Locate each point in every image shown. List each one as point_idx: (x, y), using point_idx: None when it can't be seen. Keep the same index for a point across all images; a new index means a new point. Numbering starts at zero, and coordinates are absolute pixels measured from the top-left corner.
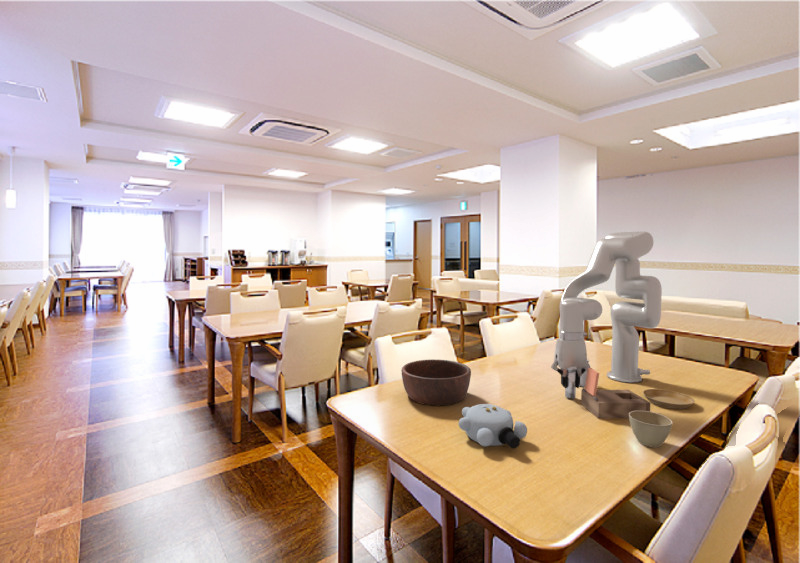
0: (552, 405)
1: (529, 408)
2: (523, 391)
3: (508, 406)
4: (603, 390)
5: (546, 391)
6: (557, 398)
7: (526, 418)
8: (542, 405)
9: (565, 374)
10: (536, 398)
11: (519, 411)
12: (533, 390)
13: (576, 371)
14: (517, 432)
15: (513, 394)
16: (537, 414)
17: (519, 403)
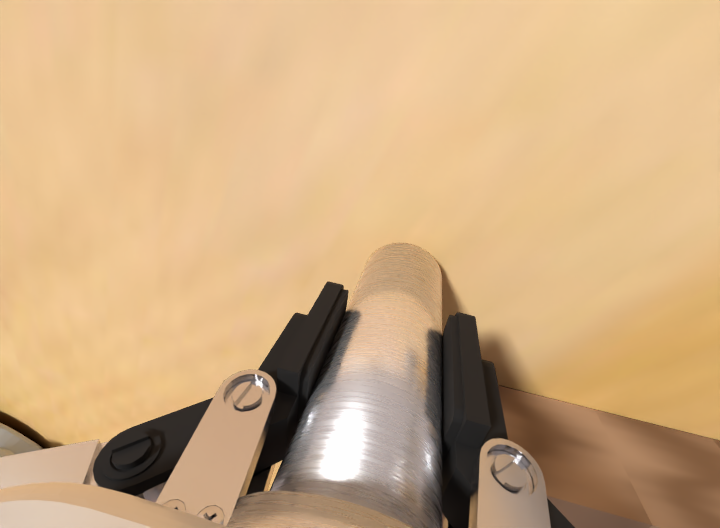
0: (233, 334)
1: (113, 333)
2: (79, 41)
3: (17, 289)
4: (576, 518)
5: (284, 74)
6: (307, 252)
7: (98, 400)
8: (180, 321)
9: (259, 480)
10: (165, 220)
11: (71, 346)
12: (168, 21)
13: (490, 513)
14: None
15: (12, 109)
16: (142, 388)
17: (65, 269)
